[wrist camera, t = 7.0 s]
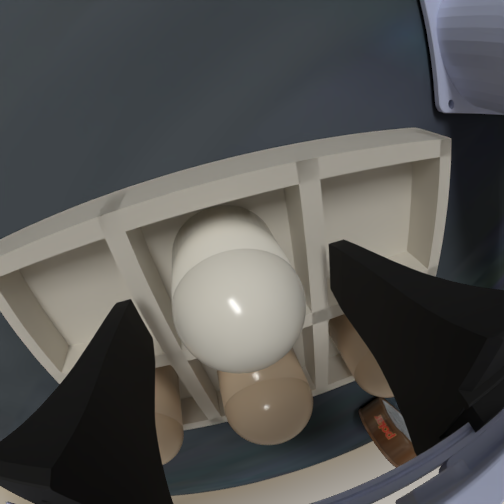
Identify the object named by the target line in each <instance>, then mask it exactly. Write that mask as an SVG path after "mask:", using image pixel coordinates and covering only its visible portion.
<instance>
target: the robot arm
mask: <svg viewBox="0 0 504 504" xmlns="http://www.w3.org/2000/svg"><path fill="white" fill-rule="evenodd" d="M420 3H421V7H422V12H423V16H424V21H425V26H426V31H427V37H428V43H429V49H430V56H431V64H432V72H433V82H434V94H435V105H436V108H437V110H438V111H439V112H442V113H473V114H496V115H504V0H420ZM448 103H449V105H448ZM328 245H329V266H330V289H331V291H332V293H333V295H334V297H335V298H336V300H337V302H338V304H339V306H340V308H341V310H342V311H343V313H344V314H345V316H346V317H347V318H348V320H349V321H350V323H351V324H352V326H353V327H354V328H355V330H356V331H357V333H358V334H359V335H360V337H361V338H362V340H363V341H364V343H365V344H366V345H367V347H368V348H369V350H370V351H371V353H372V354H373V356H374V358H375V359H376V361H377V363H378V365H379V367H380V368H381V370H382V372H383V374H384V376H385V378H386V380H387V382H388V384H389V387H390V389H391V391H392V393H393V395H394V397H395V400H396V402H397V404H398V407H399V409H400V412H401V414H402V417H403V419H404V422H405V424H406V427H407V430H408V433H409V436H410V439H411V442H412V445H413V448H414V452H415V454H416V455H417V457H415V458H413V459H412V460H410V461H408V462H406V463H404V464H402V465H401V466H399V467H397V468H395V469H393V470H391V471H389V472H387V473H385V474H383V475H381V476H379V477H377V478H375V479H373V480H370V481H368V482H366V483H364V484H361V485H359V486H357V487H354V488H352V489H350V490H347V491H345V492H342V493H339V494H337V495H334V496H331V497H329V498H326V499H323V500H320V501H317V502H314V503H311V504H372V503H374V502H376V501H378V500H380V499H382V498H385V497H386V496H389V495H390V494H392V493H394V492H396V491H398V490H400V489H402V488H404V487H406V486H408V485H409V484H411V483H413V482H415V481H416V480H418V479H420V478H422V477H423V476H425V475H426V474H428V473H430V472H431V471H433V470H434V469H436V468H437V467H439V466H441V467H440V469H439V474H438V475H436V476H435V477H433V478H432V479H430V480H429V481H427V482H425V483H424V484H422V485H420V486H419V487H417V488H415V489H414V490H413V491H411V492H410V493H408V494H406V495H405V496H403V497H401V498H399V499H398V500H396V504H501V503H502V502H503V501H504V290H497V289H489V288H481V287H476V286H470V285H466V284H461V283H457V282H452V281H449V280H445V279H441V278H438V277H435V276H432V275H429V274H425V273H423V272H420V271H417V270H414V269H412V268H409V267H407V266H404V265H402V264H399V263H397V262H394V261H392V260H390V259H388V258H385V257H383V256H381V255H379V254H376V253H374V252H372V251H370V250H368V249H365V248H363V247H361V246H359V245H356V244H354V243H352V242H349V241H347V240H344V239H343V240H340V241H336V242H333V243H330V244H328ZM0 486H2V487H3V488H5V489H7V490H9V491H10V492H12V493H14V494H16V495H18V496H20V497H22V498H24V499H26V500H28V501H30V502H32V503H35V504H173V502H172V499H171V496H170V492H169V489H168V485H167V482H166V478H165V474H164V470H163V465H162V461H161V456H160V451H159V445H158V439H157V432H156V424H155V353H154V343H153V337H152V336H151V334H150V332H149V331H148V329H147V327H146V325H145V324H144V322H143V320H142V318H141V316H140V315H139V313H138V311H137V309H136V307H135V305H134V304H133V302H132V300H131V299H129V300H125V301H121V302H117V303H116V304H115V305H114V306H113V308H112V309H111V311H110V312H109V313H108V315H107V316H106V318H105V320H104V321H103V323H102V324H101V326H100V327H99V329H98V330H97V332H96V334H95V335H94V337H93V338H92V340H91V341H90V343H89V344H88V346H87V347H86V349H85V350H84V352H83V353H82V355H81V356H80V358H79V359H78V361H77V362H76V364H75V365H74V367H73V368H72V369H71V371H70V372H69V373H68V375H67V376H66V377H65V379H64V380H63V381H62V382H61V384H60V385H59V386H58V387H57V389H56V390H55V391H54V392H53V393H52V394H51V395H50V396H49V397H48V399H47V400H46V401H45V402H44V403H43V404H42V405H41V406H40V407H39V409H38V410H37V411H36V412H34V413H33V414H32V415H31V416H30V417H29V418H28V419H27V420H26V421H25V422H24V423H23V424H22V425H21V426H19V427H18V428H17V429H16V430H15V431H13V432H12V433H11V434H10V435H8V436H7V437H6V438H4V439H3V440H2V441H1V442H0ZM6 504H14V503H11V502H6Z"/></svg>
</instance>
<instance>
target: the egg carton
mask: <svg viewBox="0 0 504 504" xmlns="http://www.w3.org/2000/svg"><path fill="white" fill-rule="evenodd" d="M450 168H451V138H449V137H446V136H443V135H439V134H436V133H433V132H430V131H426V130H423V129H419V128H415V127H413V128H402V129H392V130H382V131H374V132H365V133H358V134H351V135H344V136H337V137H330V138H324V139H318V140H312V141H307V142H301V143H296V144H290V145H285V146H280V147H275V148H271V149H266V150H261V151H257V152H252V153H248V154H243V155H239V156H235V157H231V158H227V159H223V160H219V161H215V162H211V163H207V164H203V165H200V166H196V167H192V168H189V169H185V170H182V171H178V172H175V173H171V174H168V175H165V176H161V177H158V178H155V179H152V180H149V181H145V182H142V183H139V184H136V185H133V186H130V187H127V188H124V189H121V190H118V191H116V192H113V193H110V194H107V195H104V196H102V197H99V198H96V199H93V200H91V201H88V202H85V203H83V204H80V205H78V206H75V207H73V208H70V209H68V210H65V211H63V212H60V213H58V214H55V215H53V216H51V217H48V218H46V219H44V220H41V221H39V222H37V223H34V224H32V225H30V226H28V227H26V228H23V229H21V230H19V231H17V232H15V233H13V234H11V235H8V236H6V237H4V238H2V239H0V311H1V312H2V314H3V315H4V317H5V318H6V320H7V321H8V323H9V324H10V325H11V327H12V328H13V329H14V331H15V332H16V333H17V335H18V336H19V337H20V339H21V340H22V341H23V342H24V344H25V345H26V346H27V348H28V349H29V350H30V351H31V352H32V354H33V355H34V356H35V357H36V358H37V360H38V361H39V362H40V363H41V364H42V365H43V367H44V368H45V369H46V370H47V371H48V372H49V373H50V374H51V375H52V377H53V378H54V379H55V380H56V381H57V382H58V383H59V384H61V382H62V381H63V380H64V379H65V377H66V376H67V375H68V373H69V372H70V371H71V369H72V368H73V367H74V365H75V364H76V362H77V361H78V359H79V358H80V356H81V355H82V353H83V352H84V350H85V349H86V347H87V346H88V344H89V343H90V341H91V340H92V338H93V337H94V335H95V334H96V332H97V330H98V329H99V327H100V326H101V324H102V323H103V321H104V320H105V318H106V316H107V315H108V313H109V312H110V311H111V309H112V308H113V306H114V305H115V304H116V303H117V302H121V301H125V300H129V299H131V300H132V302H133V304H134V305H135V307H136V309H137V311H138V313H139V315H140V316H141V318H142V320H143V322H144V324H145V325H146V327H147V329H148V331H149V332H150V334H151V336H152V337H153V343H154V353H155V368H157V367H162V366H167V365H171V366H172V367H173V368H174V370H175V371H176V373H177V374H178V377H179V389H180V401H181V411H182V421H183V430H188V429H194V428H199V427H204V426H209V425H214V424H218V423H223V422H227V421H228V420H227V418H226V415H225V412H224V407H223V402H222V397H221V392H220V387H219V381H218V376H217V370H216V369H214V368H211V367H209V366H207V365H205V364H204V363H202V362H201V361H199V360H198V359H197V358H195V357H194V356H193V355H192V354H191V353H190V352H189V351H188V349H187V348H186V347H185V346H184V344H183V343H182V341H181V340H180V338H179V336H178V334H177V331H176V329H175V326H174V322H173V317H172V248H173V243H174V239H175V237H176V235H177V233H178V231H179V229H180V228H181V226H182V225H183V224H184V223H185V222H186V221H187V220H188V219H189V218H190V217H192V216H193V215H195V214H196V213H198V212H200V211H202V210H204V209H207V208H210V207H214V206H219V205H233V206H239V207H242V208H245V209H248V210H250V211H252V212H253V213H255V214H256V215H258V216H259V217H260V218H261V219H262V220H263V221H264V222H265V223H266V225H267V226H268V228H269V230H270V231H271V233H272V234H273V236H274V238H275V239H276V241H277V242H278V244H279V246H280V247H281V249H282V250H283V252H284V254H285V255H286V257H287V258H288V260H289V262H290V263H291V265H292V266H293V268H294V270H295V271H296V273H297V275H298V277H299V279H300V281H301V283H302V286H303V289H304V293H305V299H306V315H305V321H304V325H303V328H302V331H301V334H300V336H299V338H298V340H297V341H296V343H295V344H294V346H293V349H294V352H295V354H296V356H297V358H298V361H299V363H300V365H301V368H302V370H303V372H304V374H305V377H306V379H307V381H308V383H309V386H310V388H311V391H312V396H316V395H319V394H321V393H324V392H327V391H329V390H332V389H335V388H337V387H340V386H342V385H345V384H347V383H350V382H352V381H355V379H354V377H353V375H352V373H351V372H350V370H349V368H348V366H347V365H346V363H345V361H344V359H343V358H342V356H341V354H340V352H339V351H338V349H337V347H336V345H335V344H334V342H333V340H332V338H331V337H330V335H329V333H328V323H329V320H330V319H332V318H334V317H337V316H340V315H343V314H344V313H343V311H342V310H341V308H340V306H339V304H338V302H337V300H336V298H335V297H334V295H333V293H332V291H331V289H330V266H329V245H328V244H330V243H333V242H336V241H340V240H343V239H344V240H347V241H349V242H352V243H354V244H356V245H359V246H361V247H363V248H365V249H368V250H370V251H372V252H374V253H376V254H379V255H381V256H383V257H385V258H388V259H390V260H392V261H394V262H397V263H399V264H402V265H404V266H407V267H409V268H412V269H414V270H417V271H420V272H423V273H425V274H429V275H432V276H435V277H436V273H437V268H438V263H439V258H440V253H441V247H442V241H443V235H444V228H445V221H446V213H447V205H448V195H449V183H450Z"/></svg>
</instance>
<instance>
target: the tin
mask: <svg viewBox="0 0 504 504" xmlns="http://www.w3.org/2000/svg"><path fill="white" fill-rule="evenodd" d="M359 416H360V418H361V421H362V423H363V425H364V427H365V429H366V430H367V432H368V434H369V436H370V437H371V439H372V440H373V441H374V443H375V445H376V446H377V447H378V449H379V450H380V451H381V453H382V454H383V455H384V456H385V458H386V459H387V460H388V461H389V462H390V463H391V464H392V465H393V466H395V467H396V468H397V467H399V466H401V465H402V464H404V463H406V462H408V461H410V460H412V459H413V458H415V457H417V455H416V454H415V452H414V448H413V445H412V442H411V439H410V436H409V433H408V430H407V427H406V424H405V422H404V419H403V417H402V415H401V413H400V412H399V411H398V410H396V409H395V408H394V407H393V406H392V405H391V404H390V403H389V402H388V401H386V400H385V399H384V398H382V397H377V398H375V399H374V400H373V401H371V402H370V403H369V404H367V405H366V406H365V407H363V408H360V409H359Z"/></svg>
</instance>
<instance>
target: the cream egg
mask: <svg viewBox="0 0 504 504" xmlns="http://www.w3.org/2000/svg"><path fill="white" fill-rule="evenodd" d="M305 315H306V299H305V293H304V289H303V286H302V283H301V281H300V279H299V277H298V275H297V273H296V271H295V270H294V268H293V266H292V265H291V263H290V262H289V260H288V258H287V257H286V255H285V254H284V252H283V250H282V249H281V247H280V246H279V244H278V242H277V241H276V239H275V238H274V236H273V234H272V233H271V231H270V230H269V228H268V226H267V225H266V223H265V222H264V221H263V220H262V219H261V218H260V217H259V216H258V215H256V214H255V213H253V212H252V211H250V210H248V209H245V208H242V207H239V206H233V205H219V206H214V207H210V208H207V209H204V210H202V211H200V212H198V213H196V214H195V215H193V216H192V217H190V218H189V219H188V220H187V221H186V222H185V223H184V224H183V225H182V226H181V228H180V229H179V231H178V233H177V235H176V237H175V239H174V243H173V248H172V317H173V322H174V326H175V329H176V331H177V334H178V336H179V338H180V340H181V341H182V343H183V344H184V346H185V347H186V348H187V349H188V351H189V352H190V353H191V354H192V355H193V356H194V357H195V358H197V359H198V360H199V361H201V362H202V363H204V364H205V365H207V366H209V367H211V368H214V369H216V370H219V371H222V372H228V373H236V374H243V373H251V372H256V371H259V370H262V369H265V368H267V367H269V366H271V365H273V364H275V363H276V362H278V361H279V360H280V359H282V358H283V357H284V356H285V355H286V354H287V353H288V352H289V351H290V350H291V349H292V347H293V346H294V344H295V343H296V341H297V340H298V338H299V336H300V334H301V331H302V328H303V325H304V321H305Z"/></svg>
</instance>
